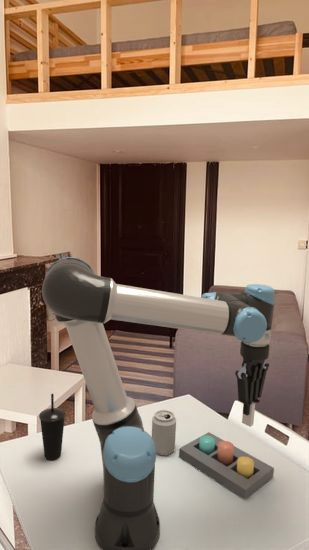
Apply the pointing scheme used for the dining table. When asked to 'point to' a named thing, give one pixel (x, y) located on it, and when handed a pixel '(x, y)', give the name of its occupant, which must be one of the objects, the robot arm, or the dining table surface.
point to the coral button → (225, 453)
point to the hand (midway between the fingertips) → (247, 423)
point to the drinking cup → (52, 431)
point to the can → (164, 431)
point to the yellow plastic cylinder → (245, 467)
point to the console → (227, 468)
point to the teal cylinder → (207, 444)
